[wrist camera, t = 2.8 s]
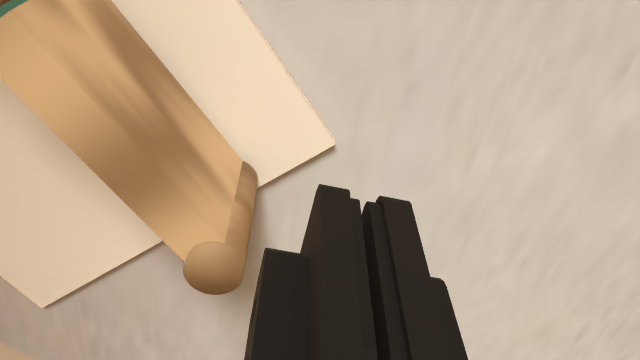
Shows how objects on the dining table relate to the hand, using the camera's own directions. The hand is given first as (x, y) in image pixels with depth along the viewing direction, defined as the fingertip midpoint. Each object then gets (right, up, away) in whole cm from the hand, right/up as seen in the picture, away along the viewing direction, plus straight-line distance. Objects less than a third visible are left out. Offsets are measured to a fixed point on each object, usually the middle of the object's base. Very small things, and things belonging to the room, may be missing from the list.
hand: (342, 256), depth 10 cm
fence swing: (-6, +4, +9) cm, 12 cm away
